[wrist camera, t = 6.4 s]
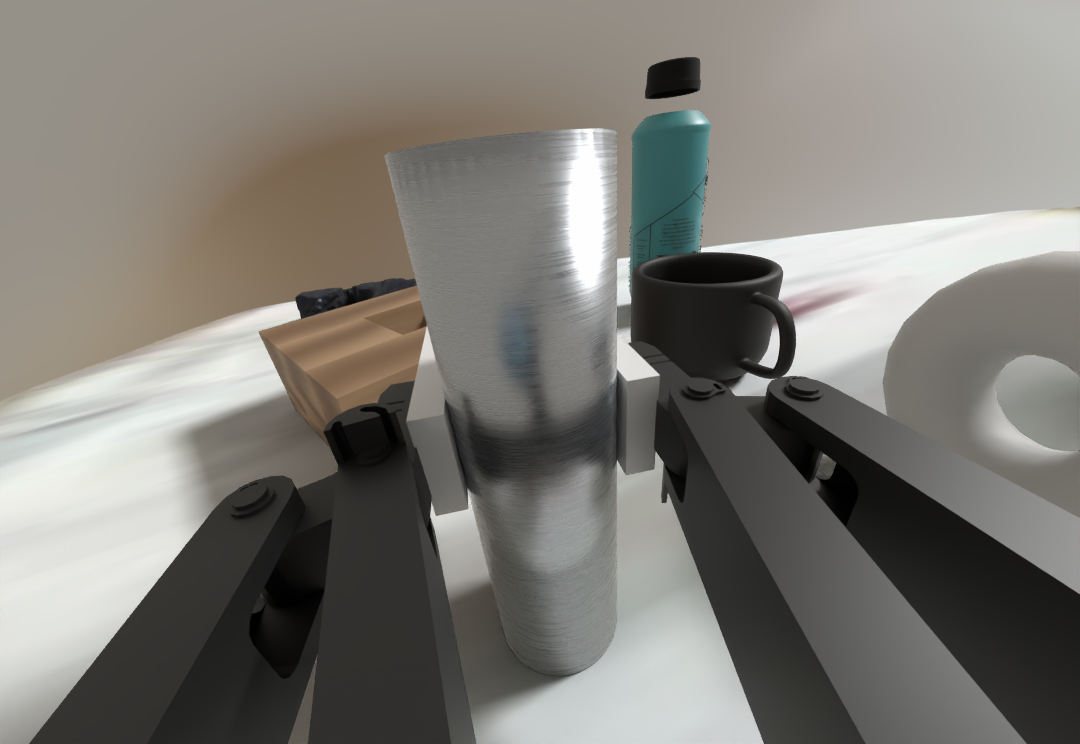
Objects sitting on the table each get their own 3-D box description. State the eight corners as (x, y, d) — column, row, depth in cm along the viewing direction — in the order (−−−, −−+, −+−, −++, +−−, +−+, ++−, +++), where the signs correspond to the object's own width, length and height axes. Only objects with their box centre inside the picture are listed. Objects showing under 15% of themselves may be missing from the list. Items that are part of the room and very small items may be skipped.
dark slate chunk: (502, 312, 44) (496, 271, 41) (293, 352, 39) (274, 307, 37) (481, 283, 57) (475, 250, 55) (323, 310, 52) (310, 275, 50)
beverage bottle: (649, 325, 35) (661, 48, 26) (616, 305, 41) (615, 72, 31) (709, 312, 36) (742, 45, 27) (669, 295, 42) (684, 69, 33)
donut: (836, 437, 20) (905, 234, 15) (900, 428, 20) (988, 224, 15) (1113, 652, 11) (1497, 320, 6) (1226, 633, 11) (1684, 295, 6)
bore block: (583, 372, 28) (579, 293, 25) (379, 502, 19) (336, 398, 16) (471, 334, 37) (459, 273, 34) (294, 407, 28) (258, 331, 25)
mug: (609, 352, 31) (608, 264, 28) (704, 331, 33) (714, 246, 29) (708, 437, 21) (726, 312, 17) (838, 398, 23) (877, 279, 19)
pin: (639, 603, 13) (662, 127, 7) (564, 710, 11) (482, 129, 4) (554, 539, 16) (510, 152, 9) (478, 614, 13) (345, 162, 7)
